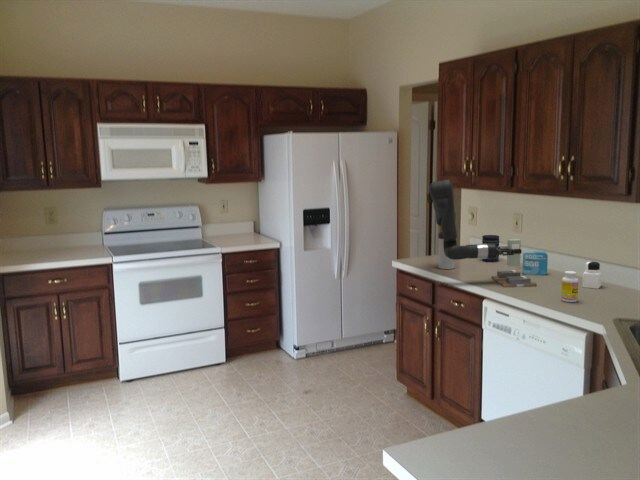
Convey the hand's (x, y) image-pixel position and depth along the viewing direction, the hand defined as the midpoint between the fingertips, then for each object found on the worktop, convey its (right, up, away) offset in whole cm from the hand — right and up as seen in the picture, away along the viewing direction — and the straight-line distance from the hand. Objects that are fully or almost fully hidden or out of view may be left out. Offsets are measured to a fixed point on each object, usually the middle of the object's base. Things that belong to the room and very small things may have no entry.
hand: (519, 250), depth 283 cm
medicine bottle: (+31, -17, -11) cm, 37 cm away
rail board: (-2, -16, +3) cm, 16 cm away
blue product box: (+15, -13, +19) cm, 27 cm away
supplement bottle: (+10, -22, -34) cm, 41 cm away
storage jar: (+2, -7, +56) cm, 57 cm away
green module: (-2, -7, +1) cm, 8 cm away
